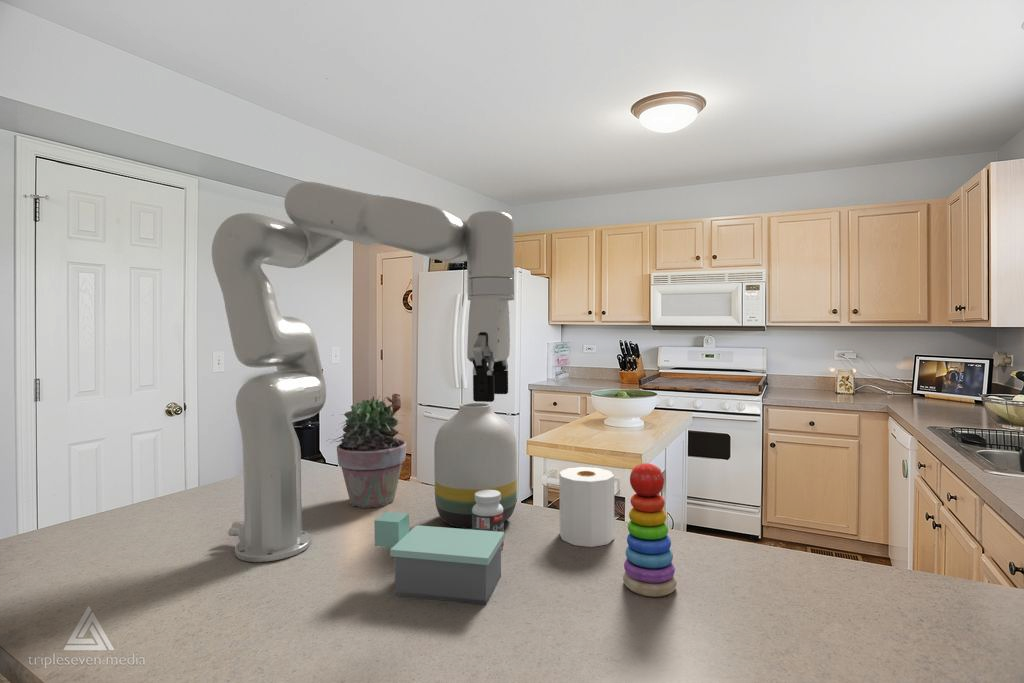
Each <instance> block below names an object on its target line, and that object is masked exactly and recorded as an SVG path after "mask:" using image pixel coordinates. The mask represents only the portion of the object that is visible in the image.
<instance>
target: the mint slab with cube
mask: <svg viewBox="0 0 1024 683" xmlns="http://www.w3.org/2000/svg"><path fill="white" fill-rule="evenodd" d="M373 523H374V546H375V547H381V548H390V549H389V553H390V554H389V557H394V558H395V557H404V558H415V559H426V560H437V561H448V562H459V563H470V564H481V565H489V563H490V562H491V560H492V558H493V557H494V555H495V553H496V552H497V550H498V548H499V547H500V545H501V543H502V542H503V540H505V537H506V536H505V531H504V532H497V531H484V530H472V529H467V528H459V527H456V528H455V527H443V526H430V525H429V526H428V525H417V524H416V525H415V526H414V527H413V528H412V529H411V530H410V513H407V512H394V511H385V512H384V513H383V514H381V515H379V516H378V517H377V518H376V519H375V520H374V522H373Z"/></svg>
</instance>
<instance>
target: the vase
mask: <svg viewBox="0 0 1024 683" xmlns="http://www.w3.org/2000/svg"><path fill="white" fill-rule="evenodd" d="M434 439H435V440H434V451H433V453H434V454H433V458H434V459H433V460H434V462H433V463H434V464H433V465H434V469H433V470H434V472H433V473H434V501H435V507H436V510H437V513H438V515H439V517H440V519H441V520H442V521H444V523H446V524H448V525H450V526H452V527H456V528H459V529H471V530H472V508H473V506H474V505H475V504H476V501H475V493H476V492H478V491H481V490H496V491H499V492H500V493H501V500H500V501H499V504H501V505H502V507H503V523H505V522H506V521H507V520H509V519H510V518H511V516H512V515H513V513H514V511H515V509H516V505H517V496H518V495H517V494H518V474H517V472H518V463H517V462H518V458H517V457H518V452H517V449H518V447H517V440H516V435H515V432H514V431H513V428H512V427H511V425H510V424H509V423H508V422H507V421H506V420H504V419H503V418H502V417H501V416H499V415H498V414H496V412H494V411H493V410H492V405H491V404H490V403H489V402H467V403H461V404H460V405H459V408H458V411H457V412H456V413H455V414H454V415H453V416H451V417H450V418H449V419H447V420H446V421H445V422H444V423H443V424H442V425H441V426H440V428H439V430H438V431H437V433H436V436H435V438H434Z"/></svg>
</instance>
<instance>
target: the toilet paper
mask: <svg viewBox="0 0 1024 683" xmlns="http://www.w3.org/2000/svg"><path fill="white" fill-rule="evenodd" d="M558 475H559V476H558V477H559V487H558V488H559V491H558V492H559V535H560V538H561V540H562V541H564V542H566V543H569V544H570V545H573V546H579V547H587V548H593V547H599V546H605V545H608V544H610V543H611V542H612V541H613V540H615V475H614V474H613V472H612V471H611V470H607V469H604V468H599V467H590V466H587V467H586V466H578V467H568V468H565V469H563V470H561V471H559V474H558Z"/></svg>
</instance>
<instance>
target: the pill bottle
mask: <svg viewBox="0 0 1024 683" xmlns="http://www.w3.org/2000/svg"><path fill="white" fill-rule="evenodd" d="M500 500H501V493H500V492H499V491H496V490H481V491H478V492H476V493H475V501H476V504H475V505H474V506H473V508H472V529H471V530H484V531H497V532H505V531H504V527H505V526H504V522H503V507H502V505H501V504H499V501H500ZM504 540H505V539H504ZM504 540H503V542H502V543H501V550H502V549H503V548H504V542H505V541H504Z"/></svg>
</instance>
